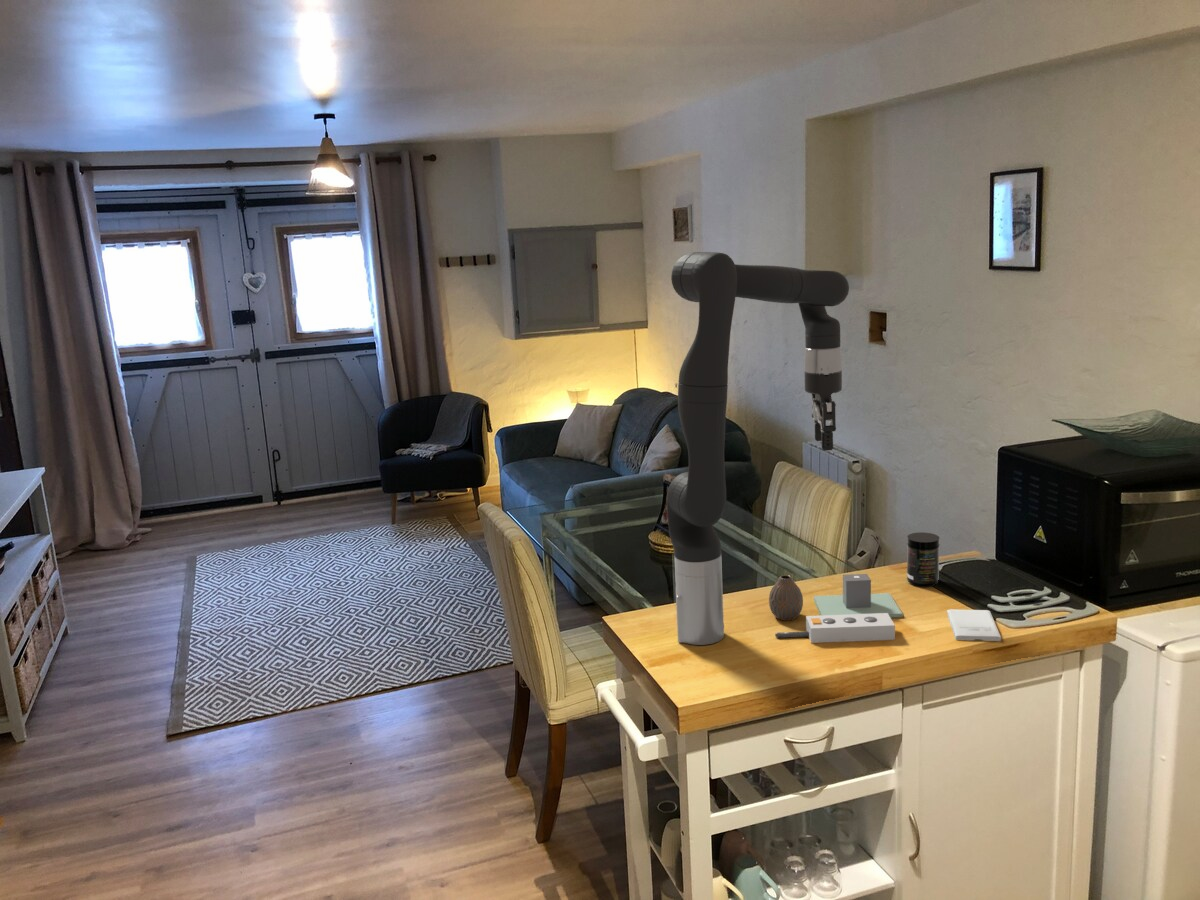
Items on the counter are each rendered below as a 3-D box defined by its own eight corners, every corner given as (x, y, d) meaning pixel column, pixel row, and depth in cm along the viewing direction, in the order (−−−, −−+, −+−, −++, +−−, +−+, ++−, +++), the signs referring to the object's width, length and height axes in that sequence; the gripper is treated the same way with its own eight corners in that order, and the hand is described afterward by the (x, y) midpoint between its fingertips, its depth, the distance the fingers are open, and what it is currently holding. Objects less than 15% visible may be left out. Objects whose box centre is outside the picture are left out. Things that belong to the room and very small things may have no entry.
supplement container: (945, 584, 216) (946, 538, 213) (920, 590, 214) (920, 544, 211) (925, 574, 222) (925, 530, 220) (900, 580, 220) (900, 535, 217)
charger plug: (846, 608, 204) (846, 580, 203) (842, 601, 208) (842, 574, 206) (870, 607, 204) (870, 579, 203) (866, 600, 208) (867, 573, 206)
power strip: (777, 644, 192) (776, 628, 191) (773, 631, 198) (773, 615, 197) (894, 639, 190) (895, 623, 190) (887, 627, 196) (887, 611, 195)
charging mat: (822, 620, 201) (822, 616, 201) (813, 599, 212) (813, 596, 212) (902, 617, 200) (902, 613, 200) (889, 596, 211) (889, 593, 211)
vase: (800, 624, 200) (800, 584, 198) (766, 622, 202) (765, 581, 200) (805, 611, 206) (804, 571, 204) (772, 609, 208) (771, 570, 206)
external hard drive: (989, 617, 199) (1001, 643, 187) (947, 616, 201) (955, 642, 189) (990, 610, 199) (1001, 636, 187) (947, 609, 200) (955, 634, 189)
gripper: (799, 364, 211) (800, 438, 215) (810, 375, 197) (811, 454, 201) (835, 362, 210) (835, 436, 214) (848, 373, 197) (848, 452, 200)
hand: (823, 445), depth 207 cm, fingers open, 8 cm apart
